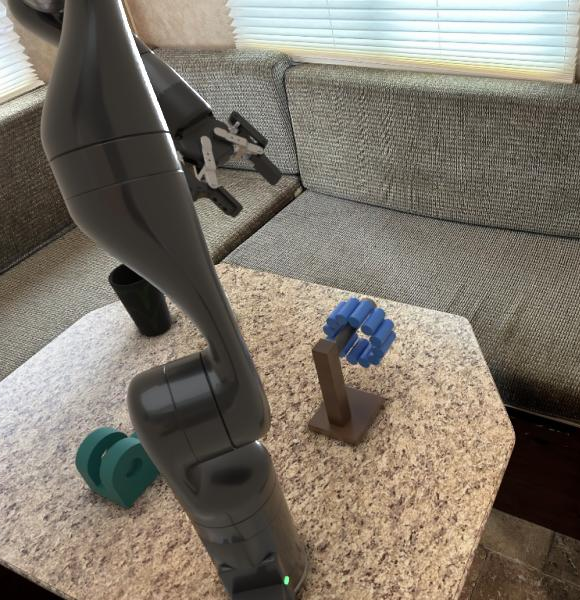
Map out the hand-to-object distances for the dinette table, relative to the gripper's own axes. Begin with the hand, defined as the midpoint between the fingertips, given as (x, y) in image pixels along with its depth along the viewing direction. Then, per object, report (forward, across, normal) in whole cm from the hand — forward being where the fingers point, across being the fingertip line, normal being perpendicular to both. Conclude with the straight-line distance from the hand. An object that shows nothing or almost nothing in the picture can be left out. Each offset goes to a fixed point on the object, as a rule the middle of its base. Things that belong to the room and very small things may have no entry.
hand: (259, 196), depth 78 cm
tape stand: (+30, -3, +13) cm, 33 cm away
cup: (0, -1, +44) cm, 44 cm away
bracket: (+14, -22, +30) cm, 39 cm away
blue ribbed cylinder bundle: (+26, 0, +9) cm, 27 cm away
